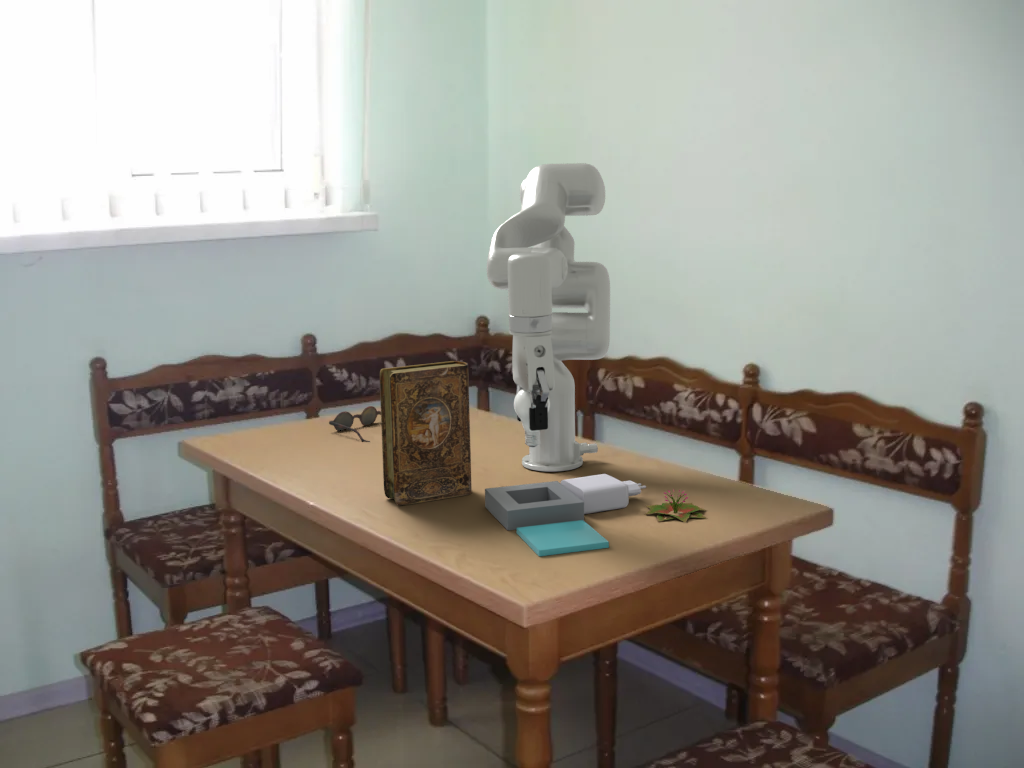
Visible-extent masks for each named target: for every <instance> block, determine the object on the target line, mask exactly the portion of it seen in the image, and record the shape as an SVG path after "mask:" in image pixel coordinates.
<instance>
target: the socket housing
mask: <svg viewBox="0 0 1024 768" xmlns="http://www.w3.org/2000/svg"><path fill="white" fill-rule="evenodd" d="M484 501H485V502H484V503H485V504H484V506H485V507H484V508H486V509H487V510H488V512H489V513H491V515H492V516H493V517H494V518H495V519H496V520H497V521H498V522H499V523H500V524H501V525H502V526H503V527H504V528H505V530H506V531H513V530H517V528H519V527H527V526H535V525H544V524H552V523H561V522H569V521H578V520H583V521H585V514H584V502H583V501H582V500H581V499H579V498H578V497H577V496H576V495H574V494H573V493H572V492H571V491H569V490H568V489H567V488H566V487H564V486H563V485H562V484H561V482H559V481H558V480H553V481H551V480H550V481H544V482H543V481H542V482H536V483H535V482H534V483H525V484H515V485H508V486H507V485H506V486H497V487H489V488H484Z"/></svg>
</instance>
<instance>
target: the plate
mask: <svg viewBox="0 0 1024 768" xmlns="http://www.w3.org/2000/svg"><path fill="white" fill-rule="evenodd" d="M516 535H518V536H519V537H520V539H522V540H523V542H524V543H525V544H527V545H528V547H529V548H530V549H531V550H532V551H533V552H534V553H535V554H536V555H537V556H538V557H545V556H553V555H561V554H568V553H577V552H584V551H585V552H586V551H594V550H600V549H601V550H602V549H608V548H610V546H609V545H610V544H609V542H610V541H609V540H607V538H605V537H603V535H601V534H600V533H599V532H598V531H597V530H595V529H594V528H593V527H592V526H591V525H590V524H588V523H587V522H586V521H585V520H584V521H583V520H578V521H569V522H561V523H552V524H544V525H535V526H527V527H519V528H517V529H516Z"/></svg>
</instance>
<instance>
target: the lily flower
mask: <svg viewBox="0 0 1024 768" xmlns="http://www.w3.org/2000/svg"><path fill="white" fill-rule="evenodd" d="M667 491H668V493H669V494H668V493H667V492H663V494H665V495H664V498H665V500H664V501H666V502H662V503H661V504H650V505H645V507H647V508H649V510H648V511H647V512H646V513H644V515H650V514H657V515H656V518H657V523H658V522H663V521H668V520H673V519H678V520H680V521H682V522H683V523H685V524H686V523H687V520H688V519H689V518H698V519H708V517H706V516H705V515H704V514H703V513H702V512H697V511H706V512H707V511H708V510H706V509H704V508H703V507H699V506H698V505H694V504H693V502H686V500H687V499H688V498H689V496H687V493H685V490H683V491H681V489H679V490H678V493H677V495H679V496H677V497H676V496H675V493H674V494H672V493H671V491H670V490H669V489H667ZM672 491H675V490H674V488H673V490H672ZM680 491H681V493H680ZM679 493H680V494H679ZM667 496H668V497H669V498H668V497H667ZM684 496H686V497H685V498H684V499H683V500H682V501H680V500H681V499H682V498H683V497H684ZM675 497H676V498H675ZM670 499H671V500H672V501H670ZM671 512H673V513H674V514H671ZM678 512H681V514H678ZM677 514H678V515H677ZM666 515H669V516H671V517H666Z"/></svg>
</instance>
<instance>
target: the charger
mask: <svg viewBox="0 0 1024 768" xmlns="http://www.w3.org/2000/svg"><path fill="white" fill-rule="evenodd" d="M560 483H561V484H562V485H563V486H564V487H566V488H567V489H568V490H569V491H571V492H572V493H573V494H574V495H576V496H577V497H578V498H579V499H581V500H582V501H583V502H584V515H588V514H595V513H600V512H606V511H612V510H620V509H625V508H627V506H628V505H629V497H632V496H637V495H640V494H641V493H642V490H641V489H646V488H647V486H646V485H642V483H639V482H638V483H637V482H635V481H632V480H623V481H621V480H619V479H618V478H616V477H613V476H612V475H609V474H606V473H602V474H601V473H600V474H594V475H587V476H582V477H581V476H580V477H575V478H574V477H573V478H568V479H561V481H560Z"/></svg>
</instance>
